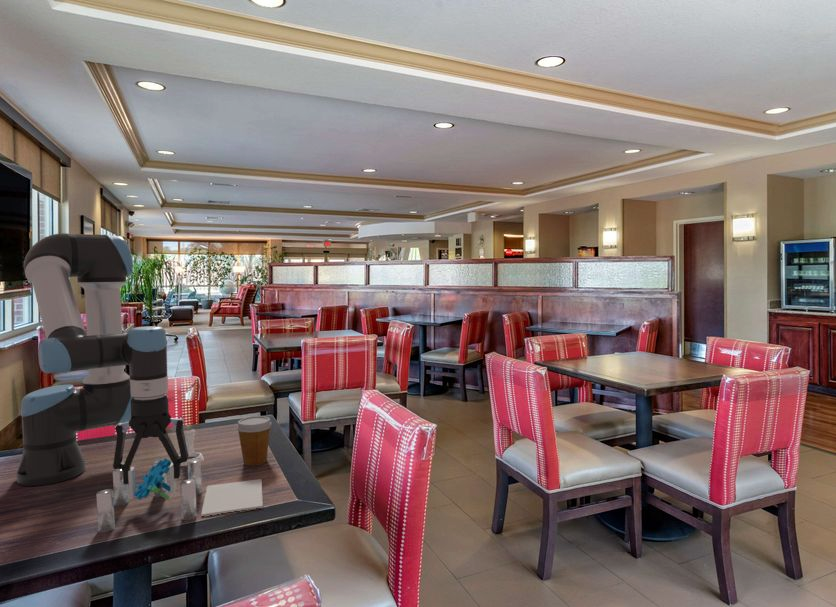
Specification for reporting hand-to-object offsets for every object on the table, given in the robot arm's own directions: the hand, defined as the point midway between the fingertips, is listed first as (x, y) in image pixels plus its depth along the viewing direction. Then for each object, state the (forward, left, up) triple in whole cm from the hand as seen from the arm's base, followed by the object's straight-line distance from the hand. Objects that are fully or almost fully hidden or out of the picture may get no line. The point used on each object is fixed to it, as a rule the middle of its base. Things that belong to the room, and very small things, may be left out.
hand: (153, 494), depth 117 cm
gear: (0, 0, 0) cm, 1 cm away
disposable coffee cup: (+22, +24, -4) cm, 33 cm away
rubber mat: (+17, +1, -4) cm, 18 cm away
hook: (+4, +31, -4) cm, 31 cm away
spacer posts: (0, 0, -4) cm, 4 cm away
